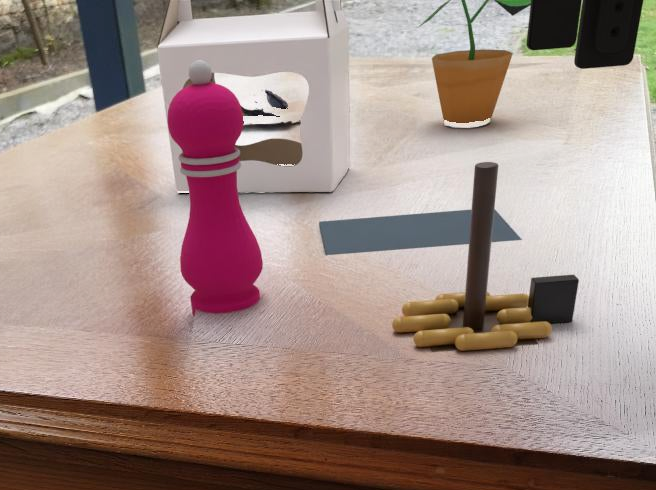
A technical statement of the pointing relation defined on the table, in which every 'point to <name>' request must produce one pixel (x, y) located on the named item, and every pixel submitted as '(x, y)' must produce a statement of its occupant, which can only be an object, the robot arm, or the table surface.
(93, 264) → the table surface
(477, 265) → the peg stand
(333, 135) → the gable box
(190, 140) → the pepper mill
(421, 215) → the mat
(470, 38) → the potted plant
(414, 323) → the yellow rounded bars
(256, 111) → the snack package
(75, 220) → the table surface
